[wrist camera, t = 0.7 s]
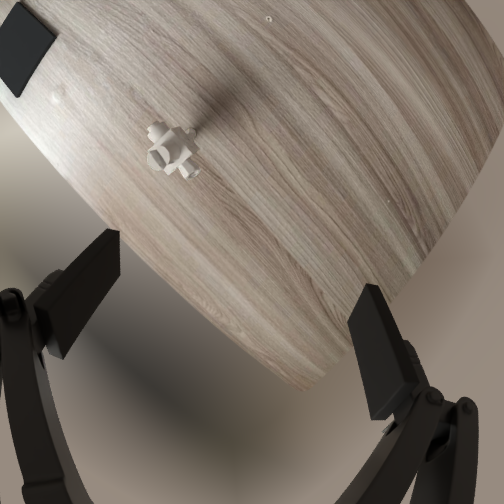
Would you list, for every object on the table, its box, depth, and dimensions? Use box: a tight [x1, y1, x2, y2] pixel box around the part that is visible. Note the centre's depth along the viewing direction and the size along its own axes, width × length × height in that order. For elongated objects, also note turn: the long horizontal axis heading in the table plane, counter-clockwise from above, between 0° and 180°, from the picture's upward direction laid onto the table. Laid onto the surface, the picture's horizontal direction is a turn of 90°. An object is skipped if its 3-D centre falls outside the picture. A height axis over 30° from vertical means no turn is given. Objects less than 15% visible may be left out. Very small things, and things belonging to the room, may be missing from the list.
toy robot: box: [147, 121, 201, 181], centre depth 31 cm, size 4×8×12 cm, turn 39°
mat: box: [0, 2, 57, 98], centre depth 28 cm, size 16×12×1 cm
